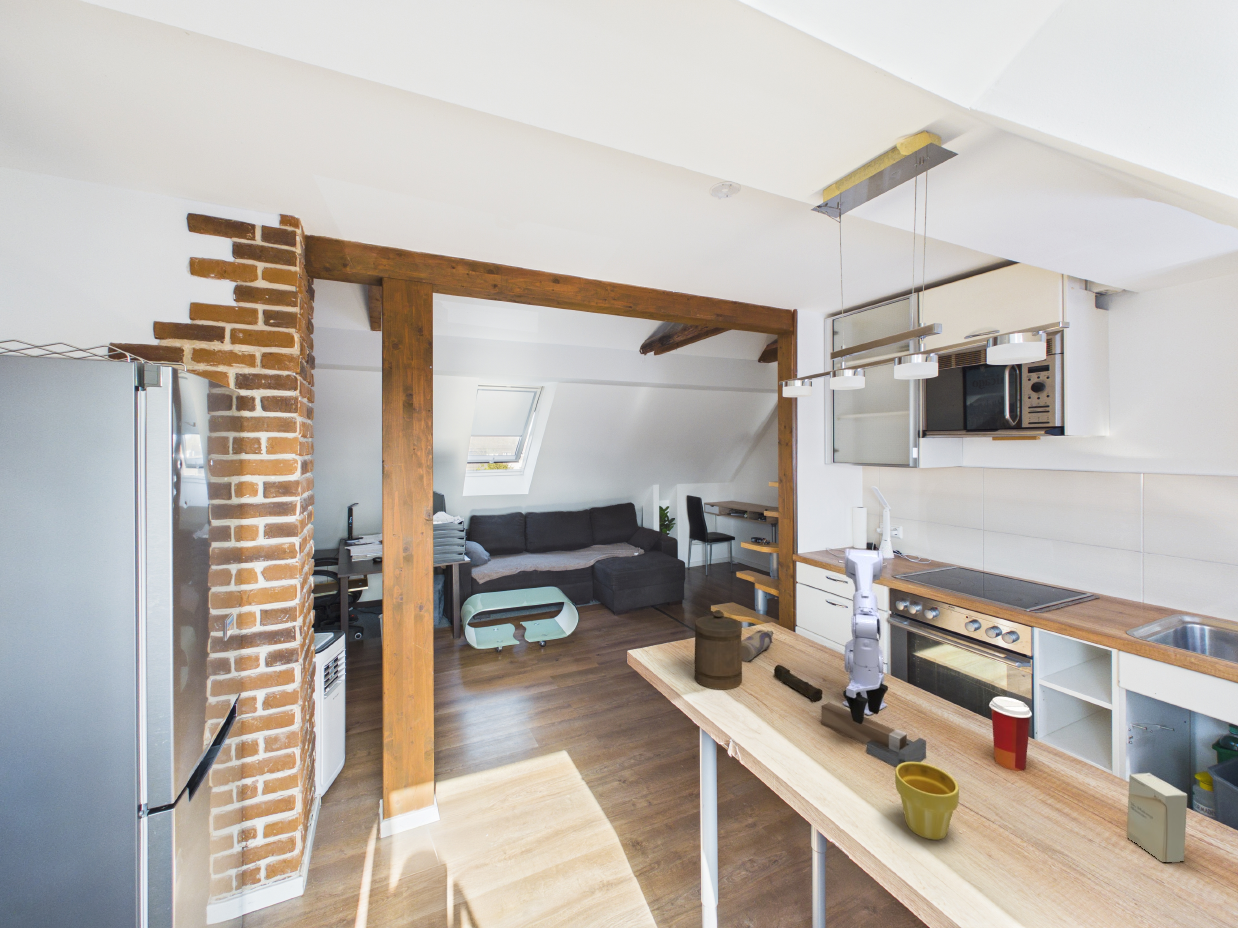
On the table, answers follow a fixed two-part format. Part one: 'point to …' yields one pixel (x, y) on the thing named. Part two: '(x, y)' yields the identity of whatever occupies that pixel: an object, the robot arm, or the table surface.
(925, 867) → the table surface
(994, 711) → the paper cup
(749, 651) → the decorative bottle
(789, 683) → the hand tool
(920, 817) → the plant pot
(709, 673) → the wooden container
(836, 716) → the walnut rail
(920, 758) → the u-shaped metal bracket
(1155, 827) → the skincare box
